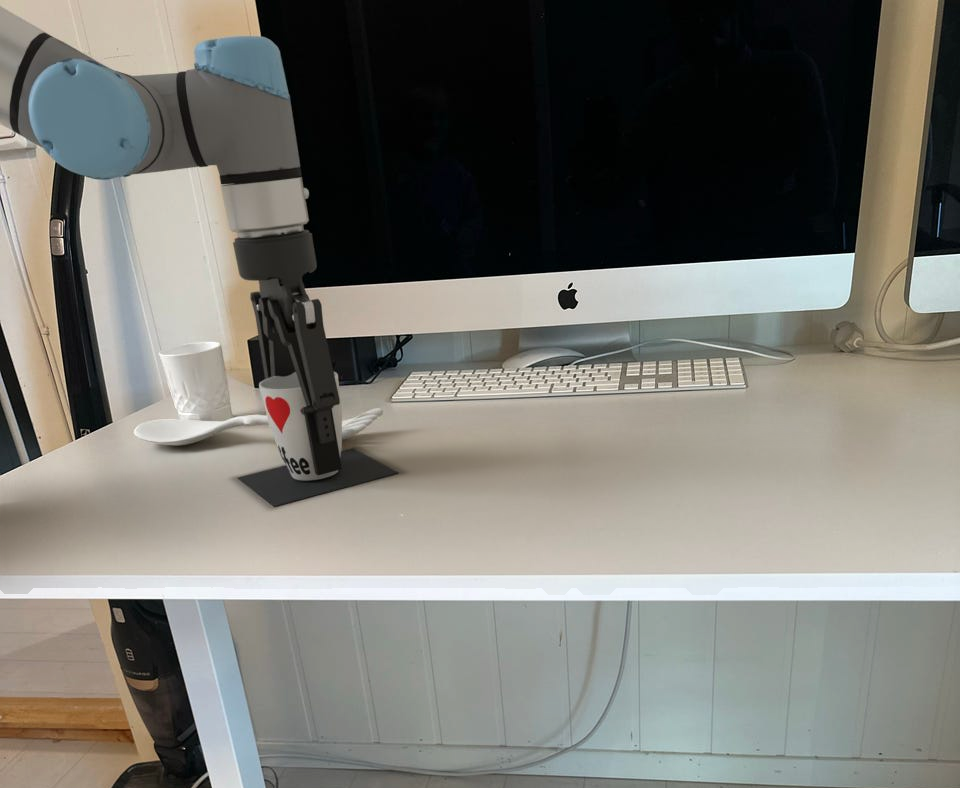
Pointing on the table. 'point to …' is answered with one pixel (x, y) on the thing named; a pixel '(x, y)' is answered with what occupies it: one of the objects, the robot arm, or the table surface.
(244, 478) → the mat
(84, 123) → the robot arm
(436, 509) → the table surface
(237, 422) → the spoon
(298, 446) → the cup
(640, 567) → the table surface
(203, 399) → the white cup
